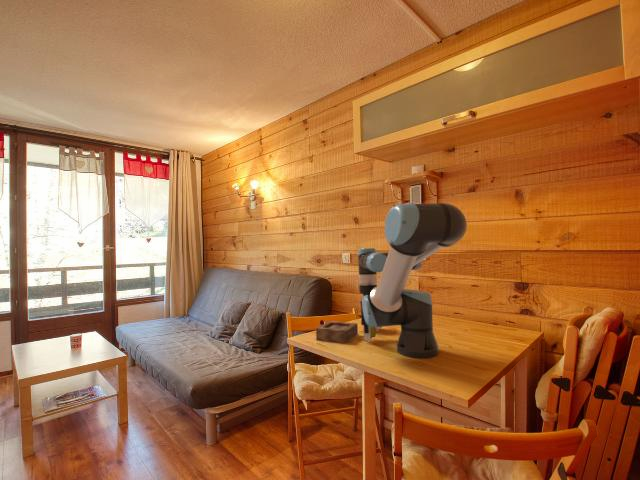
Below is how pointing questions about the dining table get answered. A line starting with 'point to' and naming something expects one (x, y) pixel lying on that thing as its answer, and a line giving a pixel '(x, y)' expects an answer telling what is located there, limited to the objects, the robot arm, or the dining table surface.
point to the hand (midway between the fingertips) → (369, 338)
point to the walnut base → (337, 332)
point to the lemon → (373, 331)
